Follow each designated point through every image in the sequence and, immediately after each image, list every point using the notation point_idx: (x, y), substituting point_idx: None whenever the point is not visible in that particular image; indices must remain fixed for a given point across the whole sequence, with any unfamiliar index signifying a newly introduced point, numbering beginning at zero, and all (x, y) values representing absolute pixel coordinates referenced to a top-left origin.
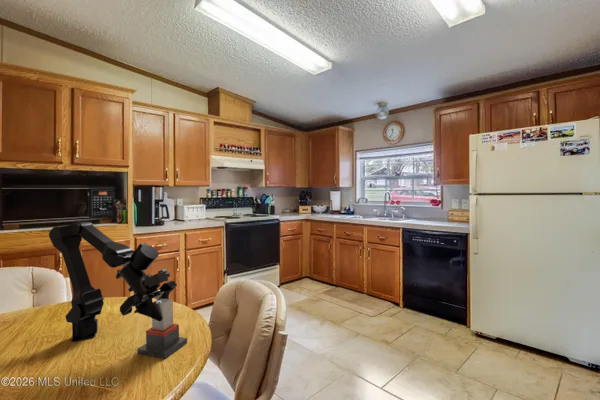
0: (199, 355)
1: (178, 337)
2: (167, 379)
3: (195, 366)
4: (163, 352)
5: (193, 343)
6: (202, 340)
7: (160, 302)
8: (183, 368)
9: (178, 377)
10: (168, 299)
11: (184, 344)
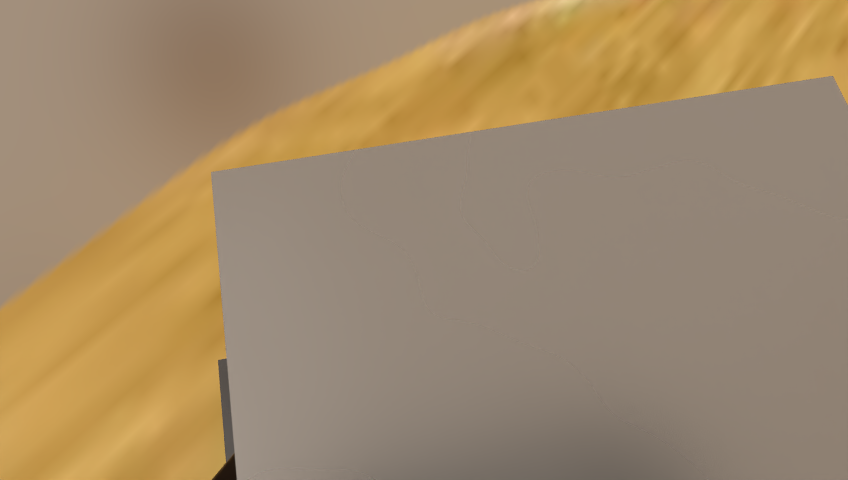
0: (381, 87)
1: None
2: (765, 54)
3: (527, 4)
4: None
5: (208, 308)
6: (111, 269)
7: (827, 326)
8: (599, 59)
9: (698, 8)
10: (311, 341)
11: None
